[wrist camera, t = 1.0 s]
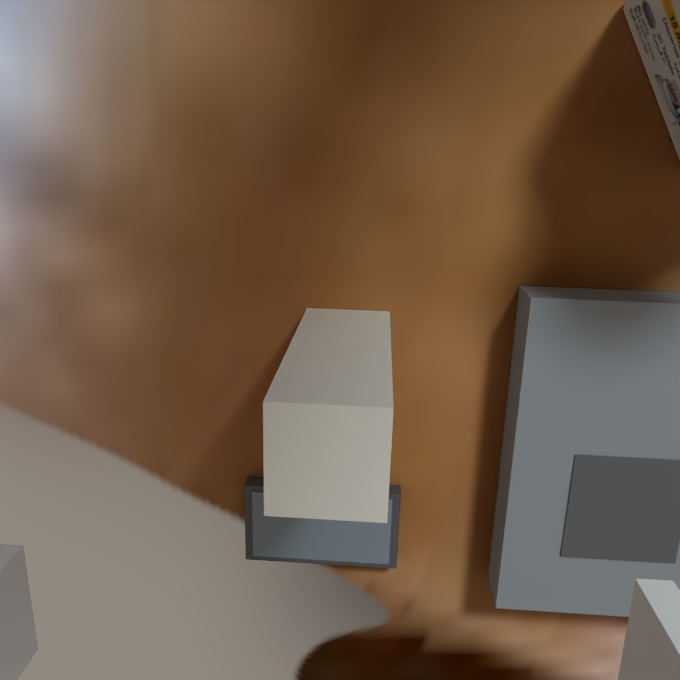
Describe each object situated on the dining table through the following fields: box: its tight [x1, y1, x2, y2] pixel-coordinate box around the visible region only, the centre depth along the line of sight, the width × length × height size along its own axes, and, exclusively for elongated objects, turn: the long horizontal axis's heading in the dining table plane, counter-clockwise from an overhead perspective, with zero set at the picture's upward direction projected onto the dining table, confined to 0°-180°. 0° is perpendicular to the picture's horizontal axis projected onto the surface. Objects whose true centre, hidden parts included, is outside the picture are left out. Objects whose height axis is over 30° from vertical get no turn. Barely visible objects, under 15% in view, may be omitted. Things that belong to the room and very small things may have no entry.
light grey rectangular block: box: [263, 308, 393, 523], centre depth 26 cm, size 4×4×12 cm
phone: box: [245, 477, 401, 569], centre depth 34 cm, size 4×8×1 cm, turn 88°
